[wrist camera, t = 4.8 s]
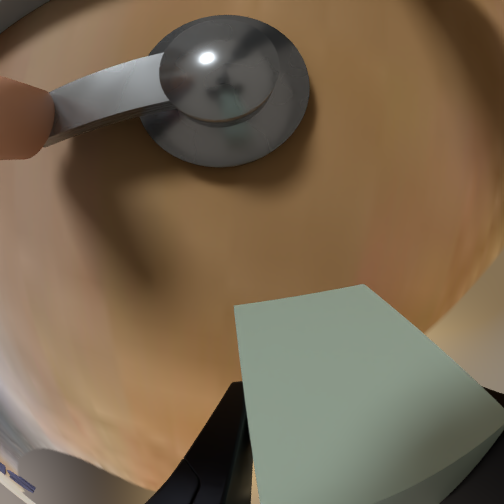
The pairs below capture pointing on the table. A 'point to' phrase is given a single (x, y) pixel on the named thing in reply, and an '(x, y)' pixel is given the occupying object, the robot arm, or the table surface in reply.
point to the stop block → (356, 403)
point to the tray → (16, 10)
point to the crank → (148, 89)
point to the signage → (18, 479)
